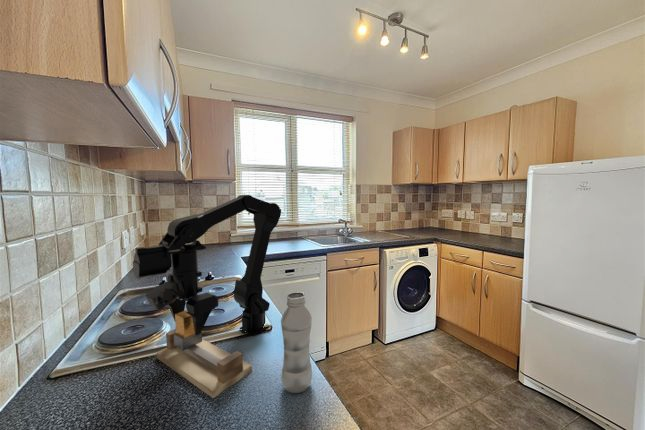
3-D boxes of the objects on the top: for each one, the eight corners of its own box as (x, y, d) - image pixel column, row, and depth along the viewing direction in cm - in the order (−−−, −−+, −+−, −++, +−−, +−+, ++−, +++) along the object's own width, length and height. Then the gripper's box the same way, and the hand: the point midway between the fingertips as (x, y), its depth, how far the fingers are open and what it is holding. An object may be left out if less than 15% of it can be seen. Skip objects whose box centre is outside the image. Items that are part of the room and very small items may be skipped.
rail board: (194, 340, 75) (194, 321, 75) (251, 371, 61) (251, 348, 61) (156, 358, 67) (155, 337, 66) (213, 398, 53) (212, 372, 53)
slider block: (193, 337, 70) (192, 307, 70) (202, 341, 68) (200, 311, 68) (174, 345, 66) (172, 314, 66) (182, 350, 64) (181, 319, 63)
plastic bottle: (275, 386, 56) (273, 295, 55) (299, 372, 61) (298, 287, 60) (294, 403, 52) (292, 304, 50) (319, 386, 56) (318, 295, 55)
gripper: (132, 271, 64) (135, 332, 66) (170, 285, 54) (174, 358, 55) (178, 261, 74) (180, 315, 75) (218, 272, 63) (221, 334, 64)
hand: (187, 329), depth 67 cm, fingers open, 9 cm apart
